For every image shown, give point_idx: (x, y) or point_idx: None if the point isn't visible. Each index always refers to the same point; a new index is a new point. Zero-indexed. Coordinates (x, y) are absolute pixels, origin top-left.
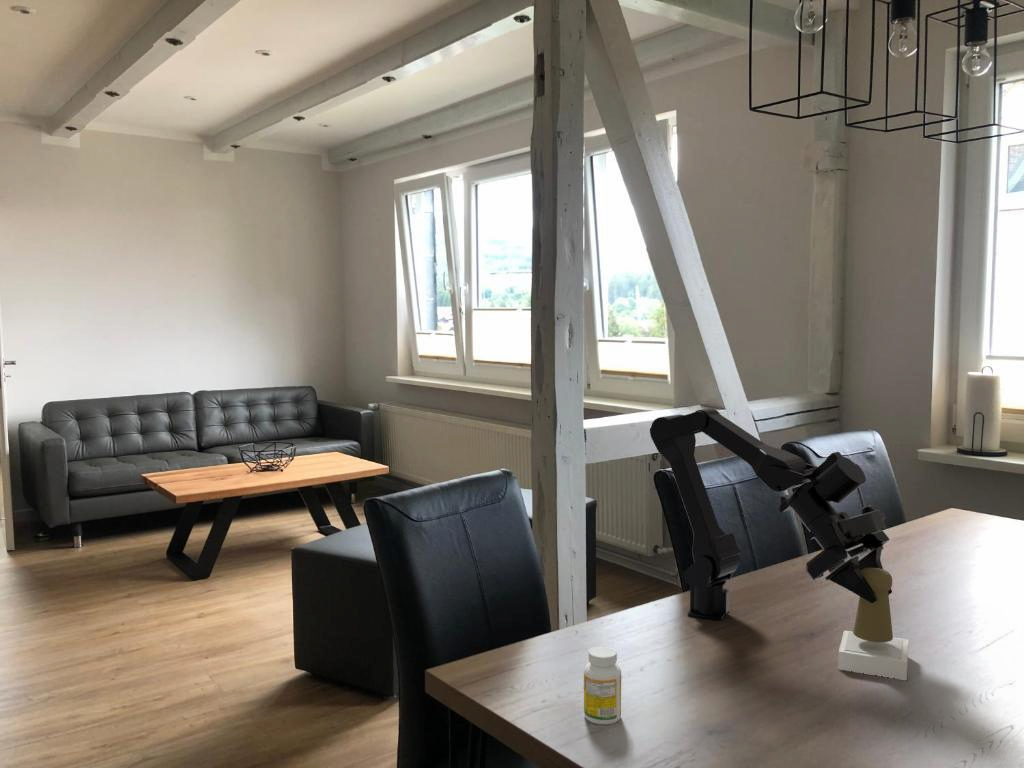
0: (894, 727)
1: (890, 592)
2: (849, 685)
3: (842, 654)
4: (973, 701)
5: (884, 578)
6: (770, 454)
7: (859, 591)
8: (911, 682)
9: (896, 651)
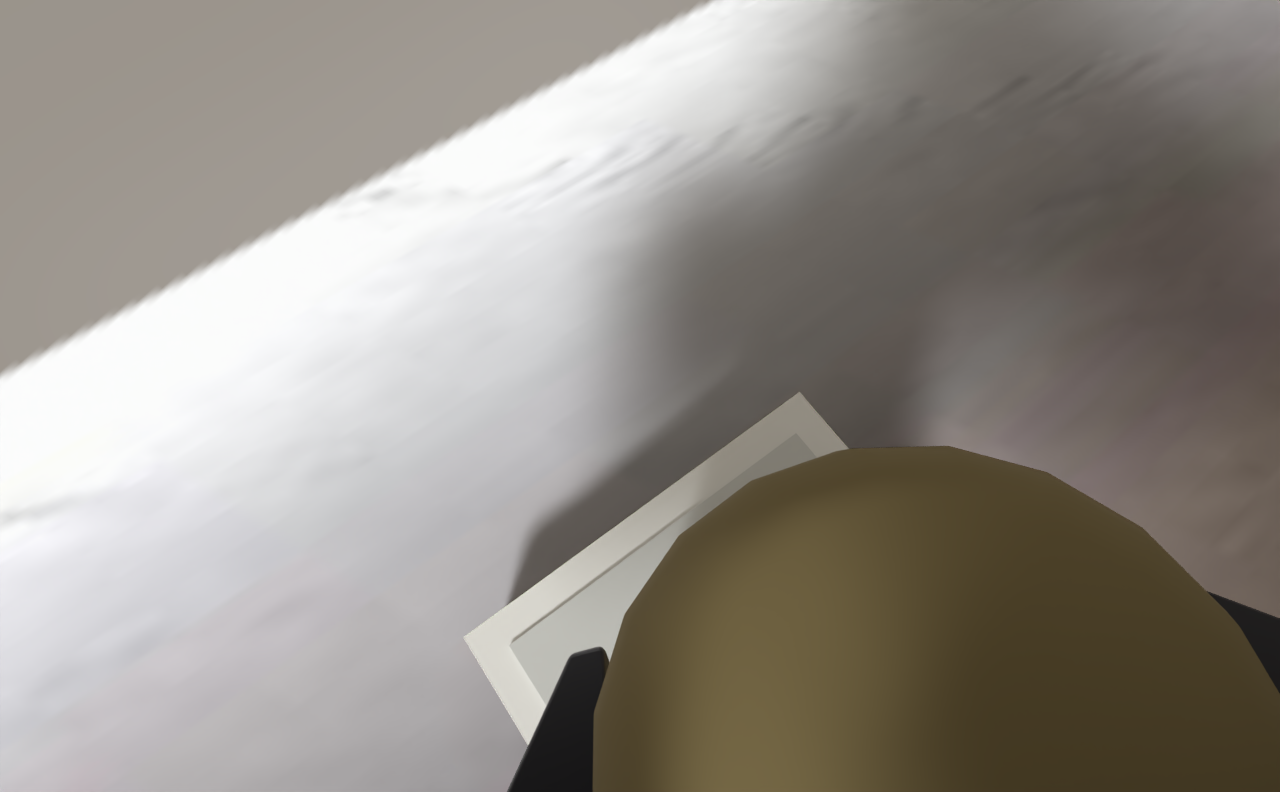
0: (1225, 148)
1: (604, 656)
2: None
3: None
4: (693, 158)
5: (991, 464)
6: None
7: None
8: (776, 402)
9: None
